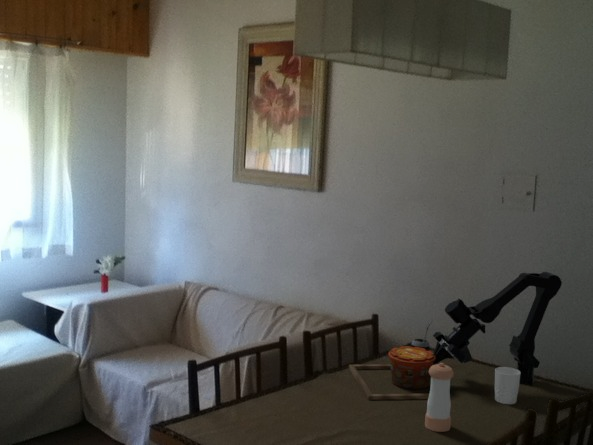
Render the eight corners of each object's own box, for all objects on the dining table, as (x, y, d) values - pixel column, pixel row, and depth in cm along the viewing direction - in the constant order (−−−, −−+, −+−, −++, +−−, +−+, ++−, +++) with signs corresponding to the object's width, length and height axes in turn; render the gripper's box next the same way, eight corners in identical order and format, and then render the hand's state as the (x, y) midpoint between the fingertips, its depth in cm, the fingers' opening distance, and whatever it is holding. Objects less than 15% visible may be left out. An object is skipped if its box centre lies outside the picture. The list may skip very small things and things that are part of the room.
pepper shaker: (435, 433, 199) (439, 368, 196) (419, 423, 205) (423, 360, 203) (455, 429, 202) (459, 365, 200) (439, 419, 209) (443, 357, 206)
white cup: (519, 406, 222) (521, 376, 220) (493, 403, 223) (496, 373, 222) (516, 397, 229) (519, 368, 228) (492, 394, 231) (494, 365, 230)
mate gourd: (409, 363, 260) (412, 324, 258) (410, 356, 267) (412, 318, 266) (430, 365, 259) (432, 325, 257) (429, 358, 266) (432, 320, 264)
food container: (380, 385, 235) (382, 354, 234) (395, 371, 250) (397, 342, 248) (426, 395, 228) (428, 363, 227) (439, 380, 243) (441, 350, 241)
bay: (417, 367, 256) (417, 364, 255) (445, 398, 226) (445, 395, 226) (348, 367, 252) (349, 364, 252) (368, 399, 222) (368, 396, 222)
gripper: (489, 357, 232) (455, 389, 232) (468, 340, 250) (437, 370, 250) (468, 334, 230) (434, 367, 230) (449, 319, 248) (417, 349, 248)
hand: (431, 363), depth 240 cm, fingers closed
